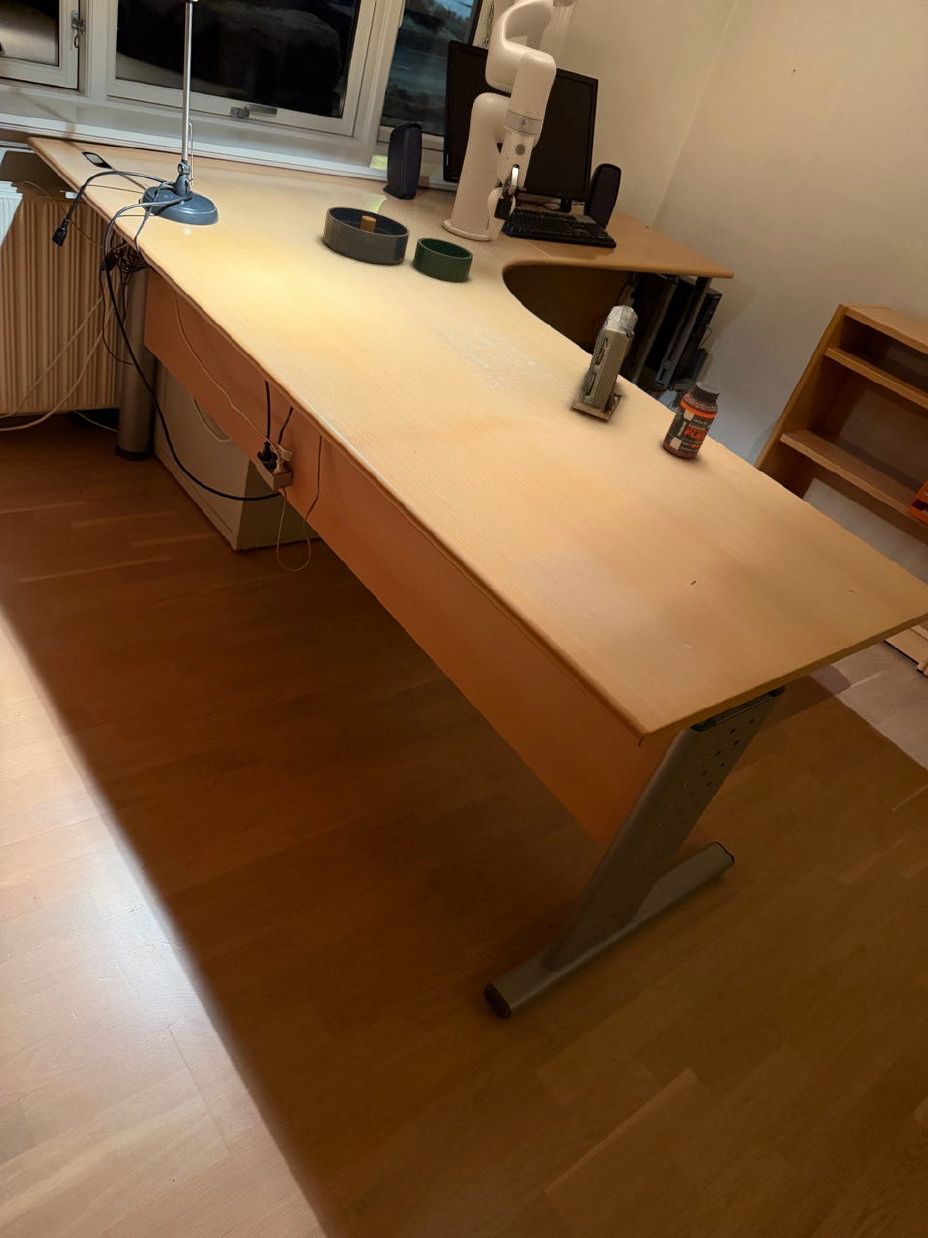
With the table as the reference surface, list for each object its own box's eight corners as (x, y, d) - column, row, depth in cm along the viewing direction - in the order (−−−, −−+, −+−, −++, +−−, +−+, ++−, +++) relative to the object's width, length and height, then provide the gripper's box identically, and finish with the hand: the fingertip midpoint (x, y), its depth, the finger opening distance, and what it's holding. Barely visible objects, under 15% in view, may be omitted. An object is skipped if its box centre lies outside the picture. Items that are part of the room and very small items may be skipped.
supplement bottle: (675, 459, 134) (704, 394, 127) (655, 440, 138) (682, 376, 131) (703, 460, 137) (733, 396, 130) (682, 442, 141) (711, 379, 134)
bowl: (323, 229, 186) (327, 200, 183) (401, 247, 191) (407, 220, 187) (321, 252, 172) (326, 221, 169) (406, 271, 177) (412, 242, 173)
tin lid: (333, 231, 185) (337, 202, 181) (392, 246, 188) (398, 217, 184) (333, 249, 174) (337, 218, 171) (395, 263, 178) (401, 234, 174)
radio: (592, 369, 158) (620, 291, 149) (634, 386, 157) (665, 308, 148) (558, 405, 140) (588, 318, 131) (606, 424, 138) (639, 337, 129)
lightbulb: (502, 246, 186) (516, 194, 179) (476, 238, 186) (489, 185, 179) (506, 240, 191) (520, 189, 184) (481, 232, 191) (494, 180, 184)
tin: (410, 256, 187) (415, 233, 184) (464, 269, 190) (469, 246, 187) (414, 273, 177) (419, 249, 174) (470, 286, 180) (476, 263, 178)
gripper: (546, 137, 168) (520, 229, 179) (532, 120, 181) (508, 207, 192) (511, 127, 166) (487, 221, 177) (499, 111, 179) (477, 199, 190)
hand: (498, 213), depth 185 cm, fingers closed on lightbulb, 6 cm apart
